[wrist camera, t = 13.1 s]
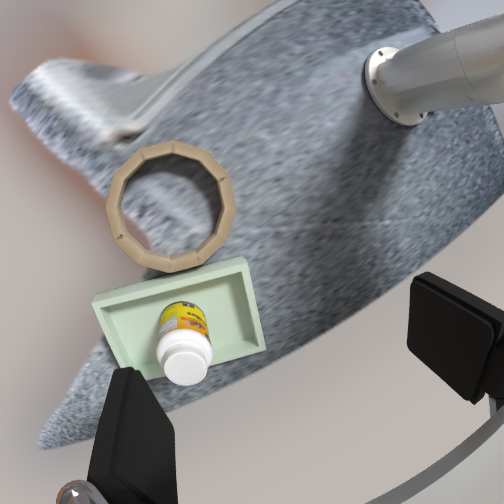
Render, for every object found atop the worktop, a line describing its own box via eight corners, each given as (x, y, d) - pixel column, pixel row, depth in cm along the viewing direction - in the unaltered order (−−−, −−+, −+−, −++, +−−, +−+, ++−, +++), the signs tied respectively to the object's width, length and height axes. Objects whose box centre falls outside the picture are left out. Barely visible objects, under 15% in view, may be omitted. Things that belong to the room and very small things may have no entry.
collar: (217, 133, 30) (220, 130, 28) (241, 248, 34) (245, 253, 32) (100, 163, 28) (95, 162, 25) (130, 277, 31) (127, 284, 29)
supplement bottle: (214, 324, 35) (228, 375, 25) (177, 346, 34) (179, 400, 24) (188, 289, 33) (192, 333, 23) (150, 313, 32) (142, 363, 23)
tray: (241, 255, 34) (247, 262, 31) (260, 337, 37) (266, 349, 34) (97, 293, 31) (91, 303, 28) (131, 369, 34) (129, 383, 31)
